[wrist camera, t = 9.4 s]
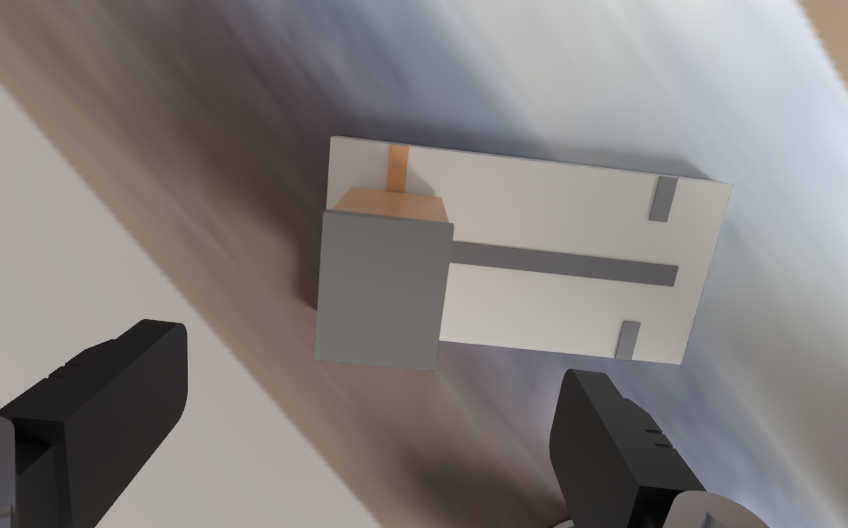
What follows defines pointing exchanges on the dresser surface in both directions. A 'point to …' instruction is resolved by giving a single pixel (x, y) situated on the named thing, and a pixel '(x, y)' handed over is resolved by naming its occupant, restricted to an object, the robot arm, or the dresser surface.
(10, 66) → the dresser surface
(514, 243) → the fader plate
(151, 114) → the dresser surface
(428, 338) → the fader knob
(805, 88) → the dresser surface
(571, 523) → the supplement bottle
